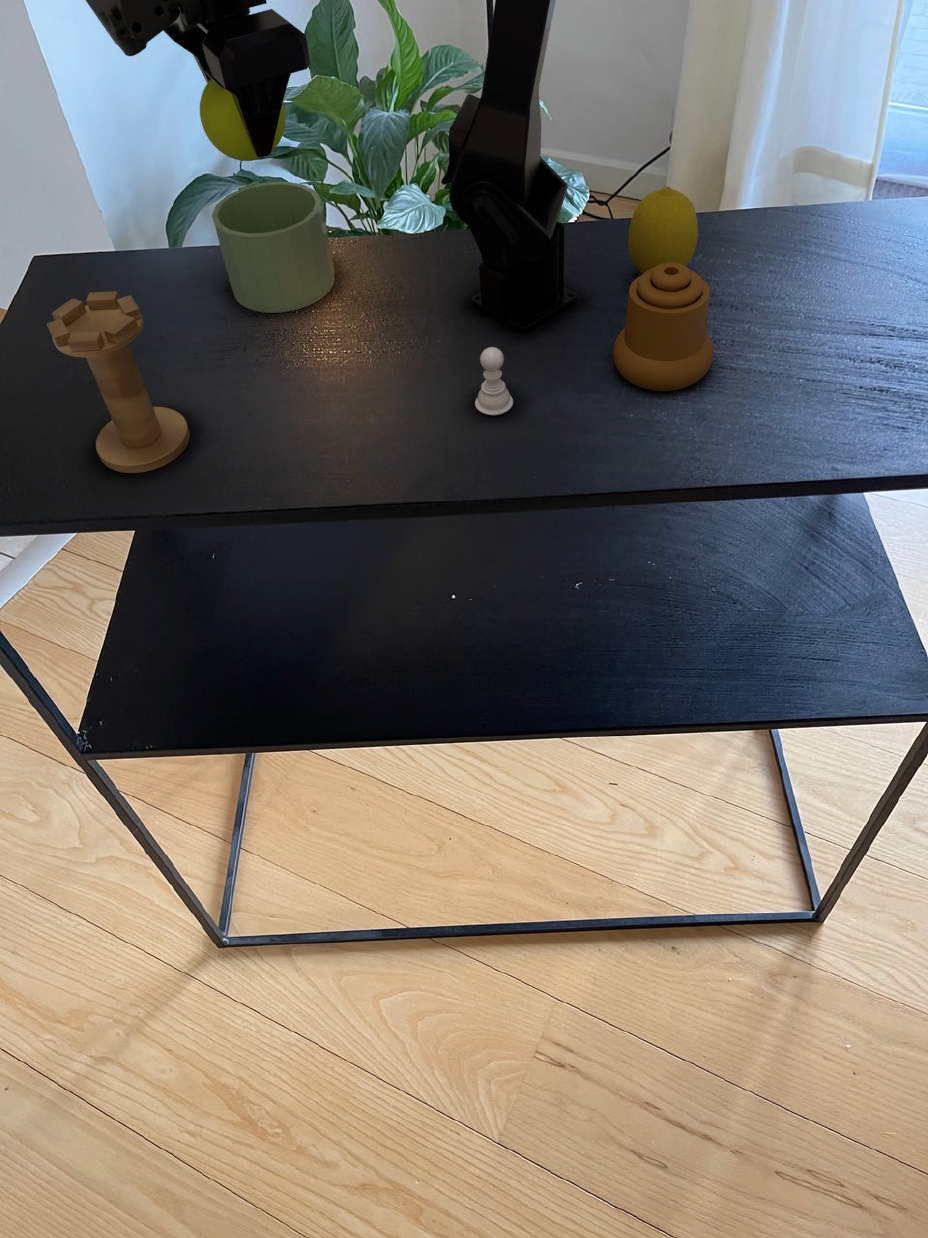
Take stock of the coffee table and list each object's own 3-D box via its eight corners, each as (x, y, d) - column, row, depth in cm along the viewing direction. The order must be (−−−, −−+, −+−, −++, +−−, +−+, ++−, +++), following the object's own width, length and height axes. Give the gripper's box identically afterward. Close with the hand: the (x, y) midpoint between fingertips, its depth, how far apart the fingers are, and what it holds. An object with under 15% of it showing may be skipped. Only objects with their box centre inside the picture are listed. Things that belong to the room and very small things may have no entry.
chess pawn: (512, 392, 74) (510, 335, 70) (513, 415, 72) (511, 358, 69) (475, 393, 74) (471, 337, 70) (475, 417, 73) (471, 360, 69)
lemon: (690, 300, 80) (701, 206, 74) (622, 296, 81) (628, 203, 75) (694, 264, 84) (705, 171, 78) (628, 261, 85) (634, 169, 79)
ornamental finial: (594, 376, 75) (642, 327, 78) (682, 408, 72) (728, 355, 75) (598, 282, 69) (650, 233, 72) (695, 311, 65) (744, 259, 69)
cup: (244, 258, 89) (224, 183, 84) (340, 255, 89) (327, 179, 83) (223, 314, 84) (201, 237, 78) (327, 311, 83) (311, 233, 78)
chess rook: (111, 416, 76) (56, 290, 67) (197, 412, 75) (153, 284, 67) (89, 475, 71) (28, 348, 63) (180, 471, 71) (131, 342, 63)
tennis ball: (249, 131, 80) (180, 88, 75) (298, 79, 76) (229, 30, 72) (255, 192, 78) (185, 151, 73) (306, 141, 74) (235, 95, 69)
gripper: (40, -106, 68) (116, 126, 80) (111, -37, 57) (188, 220, 69) (192, -138, 71) (244, 90, 83) (288, -79, 60) (332, 174, 72)
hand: (249, 140), depth 76 cm, fingers closed on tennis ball, 6 cm apart
